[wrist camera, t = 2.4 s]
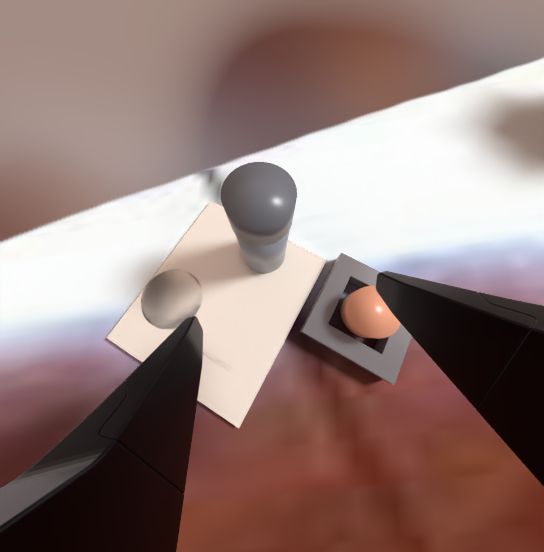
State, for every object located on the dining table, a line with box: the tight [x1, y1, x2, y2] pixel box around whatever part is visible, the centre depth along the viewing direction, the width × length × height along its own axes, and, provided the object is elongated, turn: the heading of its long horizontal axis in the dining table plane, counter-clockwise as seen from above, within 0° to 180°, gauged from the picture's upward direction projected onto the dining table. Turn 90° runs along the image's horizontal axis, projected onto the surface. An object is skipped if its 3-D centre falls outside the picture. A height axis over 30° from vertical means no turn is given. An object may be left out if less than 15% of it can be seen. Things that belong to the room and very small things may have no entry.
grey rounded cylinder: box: [221, 162, 297, 273], centre depth 19 cm, size 5×5×11 cm
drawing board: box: [107, 201, 327, 428], centre depth 23 cm, size 20×17×1 cm
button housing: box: [299, 253, 412, 385], centre depth 22 cm, size 10×10×2 cm
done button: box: [341, 286, 401, 339], centre depth 20 cm, size 5×5×2 cm
